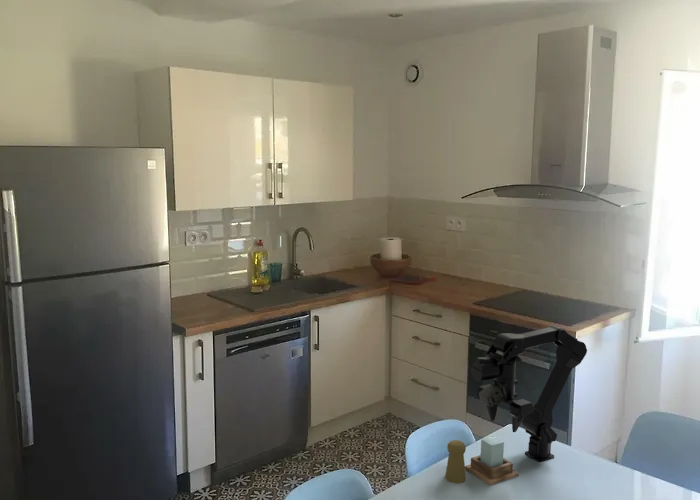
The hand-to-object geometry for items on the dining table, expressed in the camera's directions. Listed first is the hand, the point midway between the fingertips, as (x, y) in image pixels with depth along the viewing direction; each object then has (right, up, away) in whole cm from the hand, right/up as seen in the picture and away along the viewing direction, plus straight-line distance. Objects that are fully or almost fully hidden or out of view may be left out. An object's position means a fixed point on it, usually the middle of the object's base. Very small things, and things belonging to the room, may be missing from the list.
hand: (503, 426), depth 184 cm
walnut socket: (-4, -13, -4) cm, 14 cm away
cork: (-16, -13, -7) cm, 22 cm away
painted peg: (-4, -12, -4) cm, 13 cm away
